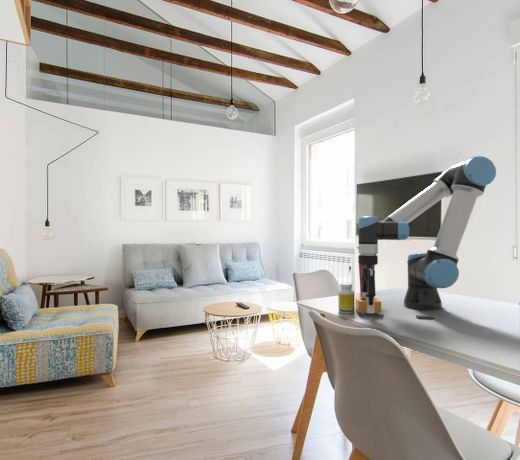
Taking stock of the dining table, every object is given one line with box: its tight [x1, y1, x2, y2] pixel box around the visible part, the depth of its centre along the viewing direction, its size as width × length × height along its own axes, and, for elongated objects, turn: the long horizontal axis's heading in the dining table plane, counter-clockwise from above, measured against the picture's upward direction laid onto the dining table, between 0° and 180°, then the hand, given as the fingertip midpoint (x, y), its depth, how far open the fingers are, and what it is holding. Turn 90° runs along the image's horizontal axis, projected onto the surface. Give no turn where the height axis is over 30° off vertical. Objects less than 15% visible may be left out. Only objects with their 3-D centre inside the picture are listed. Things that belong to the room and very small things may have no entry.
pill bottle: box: [337, 282, 356, 314], centre depth 147 cm, size 6×6×12 cm
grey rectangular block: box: [415, 314, 436, 320], centre depth 136 cm, size 6×2×1 cm, turn 84°
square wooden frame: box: [354, 296, 382, 313], centre depth 144 cm, size 8×8×4 cm
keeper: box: [355, 293, 385, 318], centre depth 144 cm, size 11×9×8 cm
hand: (368, 310), depth 144 cm, fingers closed on square wooden frame, 8 cm apart
